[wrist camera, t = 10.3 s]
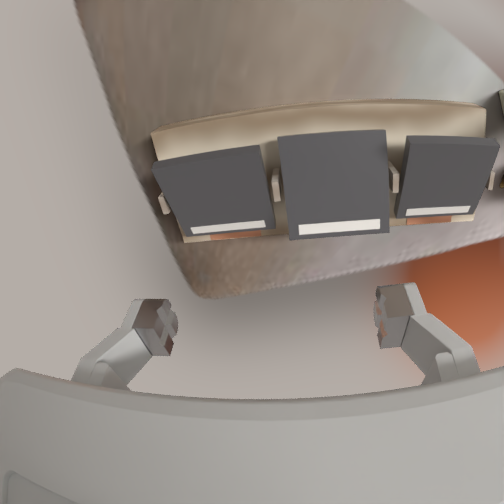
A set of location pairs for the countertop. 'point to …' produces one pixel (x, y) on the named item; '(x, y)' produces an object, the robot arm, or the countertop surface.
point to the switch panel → (314, 121)
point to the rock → (502, 182)
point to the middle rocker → (335, 183)
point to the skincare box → (502, 99)
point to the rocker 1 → (217, 191)
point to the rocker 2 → (443, 175)
